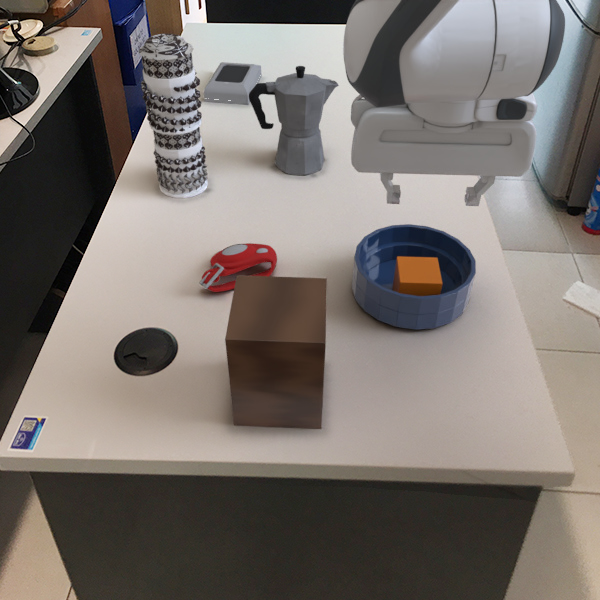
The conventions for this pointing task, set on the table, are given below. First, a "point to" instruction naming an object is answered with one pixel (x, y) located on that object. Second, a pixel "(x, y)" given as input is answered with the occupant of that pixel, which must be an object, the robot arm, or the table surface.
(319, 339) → the block
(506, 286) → the table surface
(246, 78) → the grey electronic device
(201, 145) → the decorative candle
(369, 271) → the bowl
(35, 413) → the table surface
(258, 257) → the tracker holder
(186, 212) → the table surface
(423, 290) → the orange cube
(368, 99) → the robot arm
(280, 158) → the coffeepot
